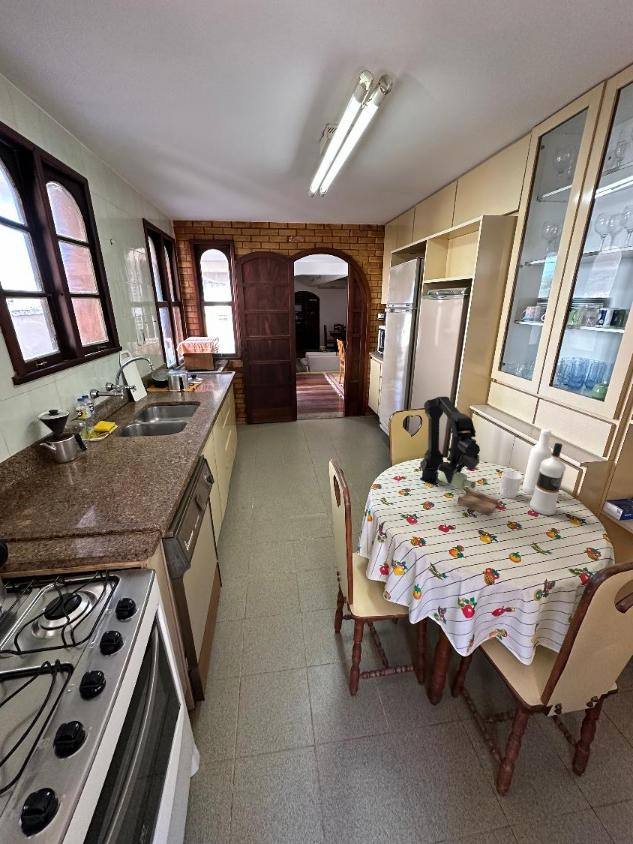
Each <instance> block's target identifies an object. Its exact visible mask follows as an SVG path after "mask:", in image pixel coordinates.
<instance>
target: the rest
mask: <svg viewBox="0 0 633 844" xmlns="http://www.w3.org/2000/svg"><path fill="white" fill-rule="evenodd" d="M456 501H457V502H456V503H457V505H460V506H462V507H465V508H467V509H470V510H473V511H474V512H478V513H481V514H483V515H485V516H488V517H490V515H491V514H492V513H493V511H494V510H495V509H497V507H498V504H499V499H498V498H496V497H493V496H490V495H487V494H485V493H481V492H479V491H475V490H474V489H472V488H466V490H465V494H464V495H462V496H458V497H457V500H456Z"/></svg>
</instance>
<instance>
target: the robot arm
mask: <svg viewBox="0 0 633 844" xmlns="http://www.w3.org/2000/svg"><path fill="white" fill-rule="evenodd" d="M423 408H424V413H425V416H426V417H427V418H428V427H427V428H428V429H427V431H428V432H427V433H428V436H427V437H428V439H427V440H428V441H427V443H428V444H427V447H428V449H427V450H426V452H425V453H424V456H423V459H422V460H421V461H420V468H421V469H422V473H421V477H420V478H419V480H420V481H423V482H425V483H428V484H432V485H433V484H435V483H436V482H437V481H438V480H439V475H440V474H439V473H440V472H441V471H442V472H444V474H445V477H446V479H447V482H448V483H449V484H448V483H447V484H448V485H451V482H452V479H453V476H454V474H456V473H457V472H460V473H462V471H463V469H464V468H467V469H468V470H469V471H473V470H474V469H476V468H477V466H478V465H479V464H480V462H481V461H480V454H479V453H480V451H481V448H480V445H479V444H478V443H477V440H476V439H475V438H476V437H477V435H476V433H477V432H476V429H475V426H474V422H473V420H472V418H471V417H470V416H469V415H467V414H464V413H462V412H460V410H458V408H457V407H456V405H454V404H453V403H452V401H451V400H450V397H448V396H437V397H434V398H432V399H427V400H426V401H425V402H424V405H423ZM443 414H445V416H446V417H447V418H448V419H449V426H450V429H451V430H450V433H451V434H452V435H451V443H450V447H449V448H448V449H447V451H448V452H449V455H448V457H446V460H447V461H449V462H447V461H444V454H443V453H442V452H441V451H440V419H441V417H442V416H443ZM439 471H440V472H439Z"/></svg>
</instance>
